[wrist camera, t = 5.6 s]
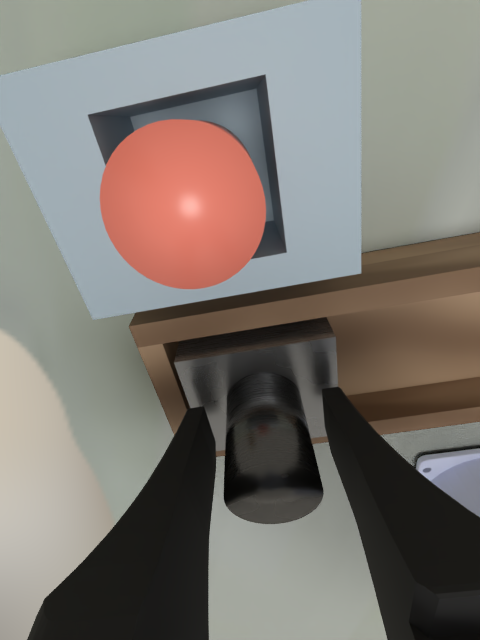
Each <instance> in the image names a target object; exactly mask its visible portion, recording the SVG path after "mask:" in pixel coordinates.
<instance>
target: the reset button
mask: <svg viewBox="0 0 480 640" xmlns="http://www.w3.org/2000/svg"><path fill="white" fill-rule="evenodd" d="M100 209H101V214H102V219H103V222H104V225H105V229H106V231H107V233H108V236H109V238H110V240H111V242H112V243H113V245H114V247H115V248H116V250H117V251H118V252H119V254H120V255H121V256H122V257H123V259H124V260H125V261H126V262H127V263H128V264H129V265H130V266H131V267H133V268H134V269H135V270H136V271H138V272H139V273H140V274H142V275H144V276H145V277H147V278H148V279H150V280H152V281H154V282H157V283H159V284H162V285H165V286H169V287H173V288H179V289H201V288H206V287H211V286H214V285H217V284H219V283H222V282H224V281H226V280H228V279H229V278H231V277H232V276H234V275H235V274H237V273H238V272H239V271H240V270H241V269H242V268H243V267H245V265H246V264H247V263H248V262H249V261H250V259H251V258H252V256H253V255H254V253H255V252H256V250H257V248H258V246H259V244H260V241H261V238H262V235H263V232H264V227H265V221H266V203H265V196H264V191H263V187H262V184H261V181H260V178H259V175H258V173H257V171H256V169H255V166H254V164H253V162H252V159H251V157H250V155H249V153H248V151H247V149H246V148H245V146H244V145H243V143H242V142H241V141H240V140H239V138H238V137H237V136H236V135H235V134H233V133H232V132H231V131H230V130H228V129H227V128H225V127H223V126H221V125H219V124H216V123H213V122H209V121H203V120H184V119H170V120H162V121H157V122H154V123H151V124H147V125H145V126H143V127H141V128H139V129H137V130H136V131H134V132H133V133H131V134H130V135H129V136H127V137H126V138H125V139H124V140H123V141H122V142H121V143H120V144H119V145H118V146H117V148H116V149H115V151H114V152H113V153H112V155H111V157H110V159H109V160H108V162H107V164H106V167H105V170H104V173H103V176H102V181H101V186H100Z"/></svg>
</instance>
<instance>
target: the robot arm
mask: <svg viewBox="0 0 480 640" xmlns="http://www.w3.org/2000/svg"><path fill="white" fill-rule="evenodd" d="M322 399H323V412H324V424H325V430H326V434H327V438H328V442H329V446H330V449H331V453H332V456H333V459H334V461H335V464H336V467H337V470H338V472H339V475H340V478H341V481H342V483H343V486H344V489H345V491H346V494H347V497H348V500H349V502H350V505H351V508H352V510H353V513H354V516H355V519H356V522H357V526H358V529H359V533H360V536H361V540H362V544H363V547H364V551H365V555H366V558H367V562H368V566H369V570H370V573H371V577H372V581H373V585H374V588H375V592H376V596H377V600H378V604H379V608H380V612H381V616H382V619H383V623H384V627H385V631H386V635H387V639H388V640H480V448H477V449H470V450H462V451H454V452H446V453H438V454H430V455H424V456H421V457H420V458H418V460H417V465H416V469H415V468H414V467H413V466H412V465H411V464H409V463H408V462H407V461H406V460H405V459H404V458H403V457H402V456H401V455H399V454H398V453H397V452H396V451H395V450H394V449H393V448H392V447H391V446H390V445H389V444H388V443H387V442H386V441H385V440H384V439H383V438H382V437H381V436H380V435H379V434H378V433H377V432H376V431H375V429H374V428H373V427H372V426H371V425H370V424H369V423H368V422H367V421H366V420H365V418H364V417H363V416H362V415H361V414H360V413H359V411H358V410H357V409H356V408H355V407H354V405H353V404H352V403H351V401H350V400H349V399H348V398H347V396H346V395H345V393H344V392H343V391H342V389H341V388H340V387H331V388H325V389H322ZM215 472H216V441H215V438H214V435H213V432H212V429H211V426H210V423H209V420H208V417H207V414H206V411H205V408H204V406H202V407H195V408H189V409H188V410H187V411H186V413H185V415H184V417H183V419H182V422H181V424H180V426H179V428H178V430H177V432H176V433H175V435H174V437H173V439H172V441H171V443H170V445H169V446H168V448H167V450H166V452H165V454H164V455H163V457H162V459H161V461H160V462H159V464H158V466H157V467H156V469H155V470H154V472H153V474H152V475H151V477H150V478H149V480H148V481H147V483H146V484H145V486H144V487H143V489H142V490H141V492H140V493H139V495H138V496H137V497H136V499H135V500H134V502H133V503H132V504H131V506H130V507H129V508H128V510H127V511H126V512H125V513H124V515H123V516H122V517H121V518H120V520H119V521H118V522H117V523H116V525H115V526H114V527H113V528H112V530H111V531H110V532H109V533H108V534H107V536H106V537H105V538H104V539H103V540H102V541H101V542H100V543H99V545H97V547H96V548H95V549H94V550H93V551H92V552H91V553H90V554H89V555H88V557H87V558H86V559H85V560H84V561H83V562H82V563H81V564H80V565H79V566H78V567H77V568H76V569H75V570H74V571H73V572H72V573H71V574H70V575H69V576H68V577H67V578H66V579H65V580H64V581H63V582H62V583H61V584H60V585H59V586H58V587H57V588H56V589H54V590H53V591H52V592H51V593H50V594H49V596H47V597H46V598H45V599H44V601H43V604H42V606H41V608H40V610H39V612H38V614H37V616H36V619H35V621H34V624H33V626H32V629H31V632H30V634H29V637H28V639H27V640H209V627H208V560H209V531H210V521H211V511H212V502H213V492H214V482H215Z"/></svg>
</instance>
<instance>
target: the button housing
mask: <svg viewBox="0 0 480 640" xmlns="http://www.w3.org/2000/svg"><path fill="white" fill-rule="evenodd" d="M170 119H184V120H203V121H209V122H213V123H216V124H219V125H221V126H223V127H225V128H227V129H228V130H230V131H231V132H232V133H233V134H235V135H236V136H237V137H238V138H239V140H240V141H241V142H242V143H243V145H244V146H245V148H246V149H247V151H248V153H249V155H250V157H251V159H252V162H253V164H254V166H255V169H256V171H257V173H258V175H259V178H260V181H261V184H262V187H263V191H264V196H265V203H266V221H265V227H264V232H263V235H262V238H261V241H260V244H259V246H258V248H257V250H256V252H255V253H254V255H253V256H252V258H251V259H250V261H249V262H248V263H247V264H246V265H245V267H243V268H242V269H241V270H240V271H239V272H238V273H237V274H235V275H234V276H232V277H231V278H229V279H228V280H226V281H224V282H222V283H219V284H217V285H214V286H211V287H206V288H201V289H179V288H173V287H169V286H165V285H162V284H159V283H157V282H154V281H152V280H150V279H148V278H147V277H145V276H144V275H142V274H140V273H139V272H138V271H136V270H135V269H134V268H133V267H131V266H130V265H129V264H128V263H127V262H126V261H125V260H124V259H123V257H122V256H121V255H120V254H119V252H118V251H117V250H116V248H115V247H114V245H113V243H112V242H111V240H110V238H109V236H108V233H107V231H106V229H105V225H104V222H103V219H102V214H101V209H100V186H101V181H102V176H103V173H104V170H105V167H106V164H107V162H108V160H109V159H110V157H111V155H112V153H113V152H114V151H115V149H116V148H117V146H118V145H119V144H120V143H121V142H122V141H123V140H124V139H125V138H126V137H127V136H129V135H130V134H131V133H133V132H134V131H136V130H137V129H139V128H141V127H143V126H145V125H147V124H151V123H154V122H157V121H162V120H170ZM0 126H1V128H2V130H3V133H4V135H5V137H6V139H7V141H8V143H9V145H10V147H11V149H12V151H13V153H14V155H15V158H16V160H17V162H18V164H19V166H20V168H21V170H22V172H23V174H24V176H25V178H26V181H27V183H28V185H29V187H30V189H31V191H32V193H33V195H34V197H35V199H36V201H37V204H38V206H39V208H40V210H41V212H42V214H43V216H44V218H45V220H46V222H47V224H48V227H49V229H50V231H51V233H52V235H53V237H54V239H55V241H56V243H57V245H58V247H59V250H60V252H61V254H62V256H63V258H64V260H65V262H66V264H67V266H68V268H69V270H70V273H71V275H72V277H73V279H74V281H75V283H76V285H77V287H78V289H79V291H80V293H81V295H82V298H83V300H84V302H85V304H86V306H87V308H88V310H89V312H90V314H91V316H92V318H93V320H95V319H101V318H107V317H113V316H118V315H124V314H130V313H136V312H141V311H147V310H153V309H159V308H165V307H170V306H176V305H182V304H188V303H193V302H199V301H205V300H211V299H216V298H222V297H228V296H234V295H240V294H245V293H251V292H257V291H263V290H268V289H274V288H280V287H286V286H292V285H297V284H303V283H309V282H315V281H320V280H326V279H332V278H338V277H343V276H349V275H355V274H361V0H308V1H304V2H300V3H296V4H292V5H288V6H284V7H279V8H275V9H271V10H267V11H263V12H259V13H255V14H251V15H246V16H242V17H238V18H234V19H230V20H226V21H222V22H218V23H214V24H209V25H205V26H201V27H197V28H193V29H189V30H185V31H181V32H176V33H172V34H168V35H164V36H160V37H156V38H152V39H148V40H144V41H139V42H135V43H131V44H127V45H123V46H119V47H115V48H111V49H106V50H102V51H98V52H94V53H90V54H86V55H82V56H78V57H74V58H69V59H65V60H61V61H57V62H53V63H49V64H45V65H41V66H37V67H32V68H28V69H24V70H20V71H16V72H12V73H8V74H4V75H0Z"/></svg>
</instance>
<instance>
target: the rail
mask: <svg viewBox="0 0 480 640" xmlns="http://www.w3.org/2000/svg"><path fill="white" fill-rule="evenodd" d="M322 317H327V319H328V321H329V324H330V326H331V328H332V330H333V332H334V334H335V336H336V352H337V373H338V387H340V388H341V389H342V391H343V392H344V393H345V395H346V396H347V398H348V399H349V400H350V401H351V403H352V404H353V405H354V407H355V408H356V409H357V410H358V411H359V413H360V414H361V415H362V416H363V417H364V418H365V420H366V421H367V422H368V423H369V424H370V425H371V426H372V427H373V428H374V429H375V431H376V432H377V433H378V434H379V435H383V434H391V433H398V432H406V431H413V430H421V429H428V428H436V427H443V426H451V425H458V424H466V423H473V422H480V232H479V233H473V234H468V235H462V236H457V237H451V238H445V239H440V240H434V241H429V242H423V243H417V244H412V245H406V246H400V247H395V248H389V249H384V250H378V251H372V252H367V253H361V274H355V275H349V276H343V277H338V278H332V279H326V280H320V281H315V282H309V283H303V284H297V285H292V286H286V287H280V288H274V289H268V290H263V291H257V292H251V293H245V294H240V295H234V296H228V297H222V298H216V299H211V300H205V301H199V302H193V303H188V304H182V305H176V306H170V307H165V308H159V309H153V310H147V311H141V312H136V313H135V315H134V317H133V319H132V321H131V323H130V325H129V328H130V331H131V333H132V336H133V338H134V340H135V343H136V345H137V347H138V350H139V352H140V355H141V357H142V359H143V362H144V364H145V366H146V369H147V371H148V374H149V376H150V378H151V381H152V383H153V385H154V388H155V390H156V393H157V395H158V397H159V400H160V402H161V405H162V407H163V409H164V412H165V414H166V416H167V419H168V421H169V424H170V426H171V428H172V431H173V433H174V435H175V433H176V432H177V430H178V428H179V426H180V424H181V422H182V419H183V417H184V415H185V413H186V411H187V410H188V409H189V408H190V406H189V403H188V400H187V397H186V395H185V392H184V389H183V386H182V383H181V381H180V378H179V375H178V372H177V370H176V367H175V364H174V360H175V357H176V353H177V349H178V345H179V341H182V340H188V339H194V338H200V337H207V336H213V335H219V334H225V333H231V332H237V331H243V330H249V329H255V328H261V327H268V326H274V325H280V324H286V323H292V322H298V321H304V320H310V319H316V318H322ZM311 441H312V444H316V443H323V442H328V438H327V436H325V437H318V438H311ZM218 456H225V450H221V451H216V457H218Z"/></svg>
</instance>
